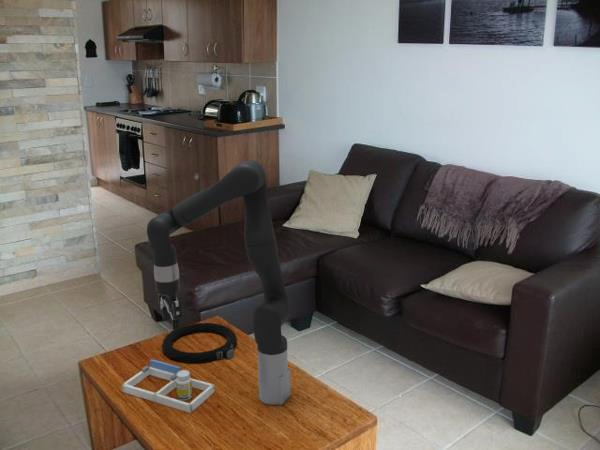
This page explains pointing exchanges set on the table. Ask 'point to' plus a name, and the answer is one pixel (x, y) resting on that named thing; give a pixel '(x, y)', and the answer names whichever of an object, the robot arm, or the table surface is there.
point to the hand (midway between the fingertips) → (171, 324)
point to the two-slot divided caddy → (167, 386)
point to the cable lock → (217, 353)
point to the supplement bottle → (184, 385)
